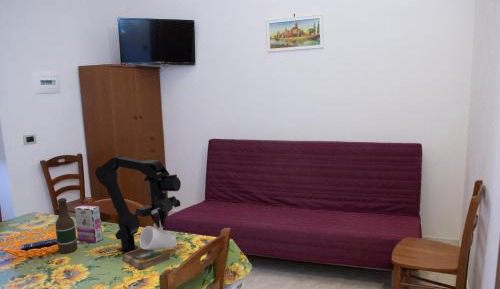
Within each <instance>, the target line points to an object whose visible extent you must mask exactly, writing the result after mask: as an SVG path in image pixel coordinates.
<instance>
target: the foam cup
mask: <svg viewBox="0 0 500 289" xmlns="http://www.w3.org/2000/svg"><path fill="white" fill-rule="evenodd" d="M176 243H177V237H176V235H175V234H172V233H170V232H167V231H165V230H162V229H160V228H158V227H155V226H153V225H147V226H145V227H144V228H143V229H142V230H141V232H140V235H139V246H140V248H142V249H147V250H151V249H152V250H173V249H174V248H175V246H176Z"/></svg>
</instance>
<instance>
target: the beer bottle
mask: <svg viewBox="0 0 500 289" xmlns="http://www.w3.org/2000/svg"><path fill="white" fill-rule="evenodd" d="M56 202H57V205H58V206H57V207H58V208H57V209H58V218H57V219H56V222H55V234H56V242H57V249H58V248H59V250H58V252H59V253H60V254H61V255H68V254H72V253H74V252H75V251H77V250H78V238H77V232H76V231H77V230H76V223H75V221H74V220H73V218H72V217H71V215H70V213H69V209H68V205H67V204H68V203H67V198H66V197H62V198H58V199H57V201H56Z"/></svg>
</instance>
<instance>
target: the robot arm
mask: <svg viewBox="0 0 500 289" xmlns="http://www.w3.org/2000/svg"><path fill="white" fill-rule="evenodd" d="M120 168H124V169H128V170H129V169H130V170H134V171H139V172H140V173H141V174H143V175H145V176H146V177H145V178H144V179H143V182H148V188H149V193H148V194H147V195H148V197H149V198H150V202H149V207H147V206H140V207H137V208H135V211H134V212H135V213H134V214H133V213H132V212H131V211H130V209H129V207H128V204H127V202H126V200H125V197H124V196H123V193H122V191H121V189H120V187H119V184H118V182H117V180H118V173H117V171H118V170H119V169H120ZM94 175H95V177H96V179H97V180H98V182H99V184H101V185H102V186H104V187H105V188H106V191H107V193H108V195H109V198H110V200H111V203H112V205H113V207H114V209H115V211H116V214H117V216H118V224H117V225H118V228H119V230H118V231H117V232H116V233H115V238H116V240H120V244H121V246H120V247H119V248H117V249H118V251H120V252H122V253H123V254H125V253H128V252H130V251H133V250H136V249H139V247H138V246H136V244H135V243H136V242H135V235H136V234H138V233H139V232H138V231H139V229H140V227H141V225H140V222H141V221H140V219H139V218H138V217H141V218H145V217H150V218H151V219H152V221H153V223H154V224H155V226H156V228H157V229H160V226H161V227H165V222H166V219H167V215H168V213H169V212H171V211H172V210H174V209H173V208H178V207H181V201H180V199H178V198H177V197H176V196H174V195H173V196H170V197H168V196H167V193H166V192H179V191H180V190H181V187H182V186H181V185H182V184H181V183H182V182H181V180H180V178H179V177H178V174H177V173H176V174H175V173H174V174H170V173H169V171H168V170H167V169H166V167H165V166H164V165H163V163H162V161H161V160H158V159H151V160H150V159H148V160H143V159H136V158H131V157H126V156H123V155H116V156H112V157H111V158H110V159H109V160H108V161H106V162H105V163H103V164H102V165H101V166H98V167H97V168H96V169H95V171H94Z"/></svg>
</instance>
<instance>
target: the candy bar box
mask: <svg viewBox="0 0 500 289" xmlns="http://www.w3.org/2000/svg"><path fill="white" fill-rule="evenodd" d="M100 210H101V209H100V206H95V205H84V204H81V205H79V206H76V207H74V216H75V227H76V231H77V232H76V235H77V242H78V241H79V242H86V243H93V244H96V243H99V242H101V241H102V240H103V239H104V238H103V230H102V229H103V228H102V219H101V211H100Z"/></svg>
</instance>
